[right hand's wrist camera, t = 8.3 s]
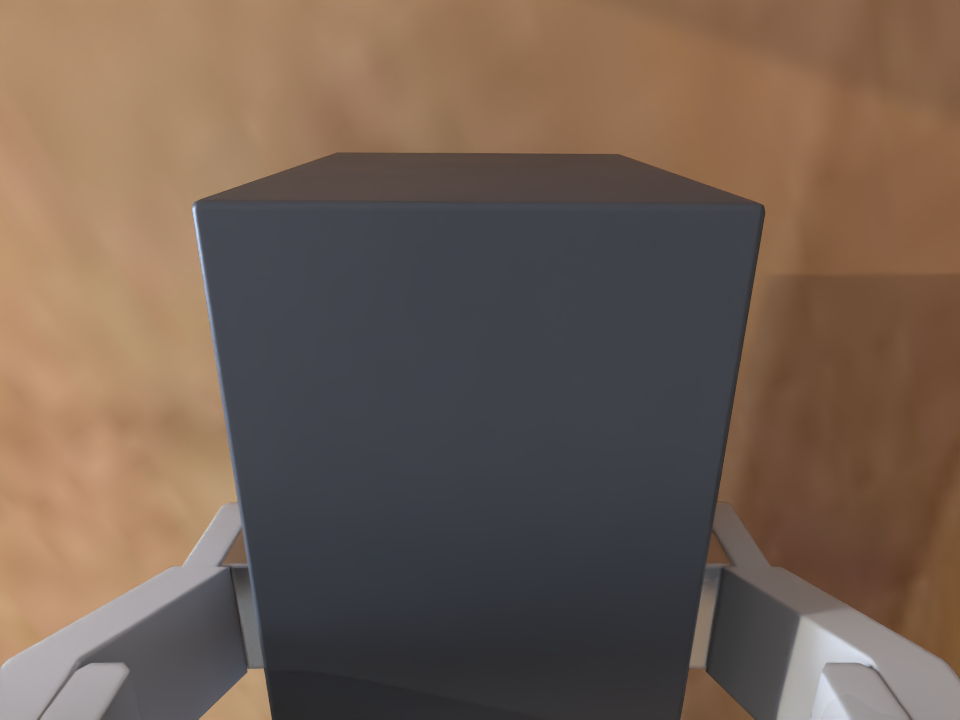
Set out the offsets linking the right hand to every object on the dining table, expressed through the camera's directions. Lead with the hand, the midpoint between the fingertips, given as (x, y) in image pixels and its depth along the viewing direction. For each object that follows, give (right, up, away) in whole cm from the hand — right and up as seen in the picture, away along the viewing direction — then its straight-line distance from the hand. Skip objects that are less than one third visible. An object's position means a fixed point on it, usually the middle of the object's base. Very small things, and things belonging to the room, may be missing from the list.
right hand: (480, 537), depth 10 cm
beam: (0, -29, +15) cm, 32 cm away
